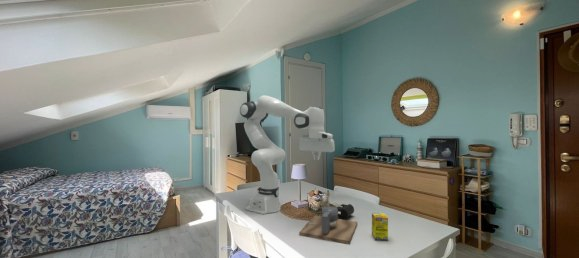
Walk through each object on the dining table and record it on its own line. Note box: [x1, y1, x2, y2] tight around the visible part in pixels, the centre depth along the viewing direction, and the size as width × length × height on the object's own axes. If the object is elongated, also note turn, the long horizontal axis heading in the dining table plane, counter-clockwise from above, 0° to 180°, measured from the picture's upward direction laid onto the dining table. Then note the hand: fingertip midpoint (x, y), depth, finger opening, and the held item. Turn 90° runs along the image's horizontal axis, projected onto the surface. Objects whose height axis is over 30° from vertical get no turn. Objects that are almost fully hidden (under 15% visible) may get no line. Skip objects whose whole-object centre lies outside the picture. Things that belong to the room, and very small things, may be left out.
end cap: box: [336, 203, 355, 220], centre depth 143 cm, size 10×7×7 cm
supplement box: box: [371, 212, 389, 242], centre depth 116 cm, size 6×6×11 cm
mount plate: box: [298, 215, 358, 245], centre depth 126 cm, size 24×24×6 cm
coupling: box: [321, 205, 339, 234], centre depth 123 cm, size 15×8×8 cm, turn 157°
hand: (316, 159), depth 139 cm, fingers closed
